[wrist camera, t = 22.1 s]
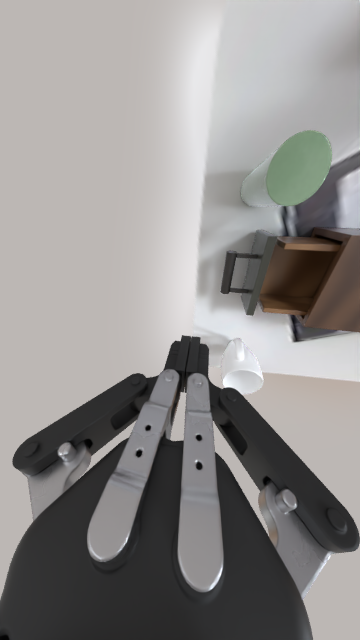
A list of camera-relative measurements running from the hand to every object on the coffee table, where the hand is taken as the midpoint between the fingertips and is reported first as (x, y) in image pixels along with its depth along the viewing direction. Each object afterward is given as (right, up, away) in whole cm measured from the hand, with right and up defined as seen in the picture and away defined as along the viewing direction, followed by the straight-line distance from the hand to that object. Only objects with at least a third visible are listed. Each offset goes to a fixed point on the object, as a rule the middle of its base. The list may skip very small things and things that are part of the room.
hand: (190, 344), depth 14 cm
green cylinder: (+11, +23, +13) cm, 28 cm away
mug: (+14, -3, +30) cm, 33 cm away
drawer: (+16, +12, +18) cm, 27 cm away
